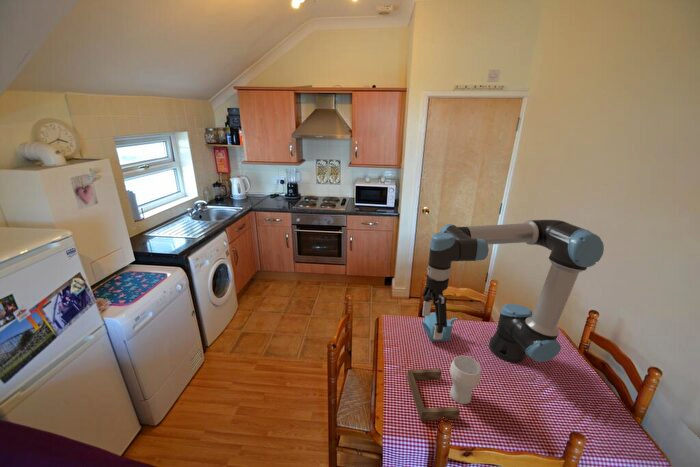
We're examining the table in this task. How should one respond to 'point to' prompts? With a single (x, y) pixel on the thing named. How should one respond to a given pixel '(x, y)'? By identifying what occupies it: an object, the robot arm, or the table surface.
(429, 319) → the teapot
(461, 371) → the cup
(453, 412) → the wooden u-shaped bracket
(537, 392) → the table surface
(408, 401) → the table surface
